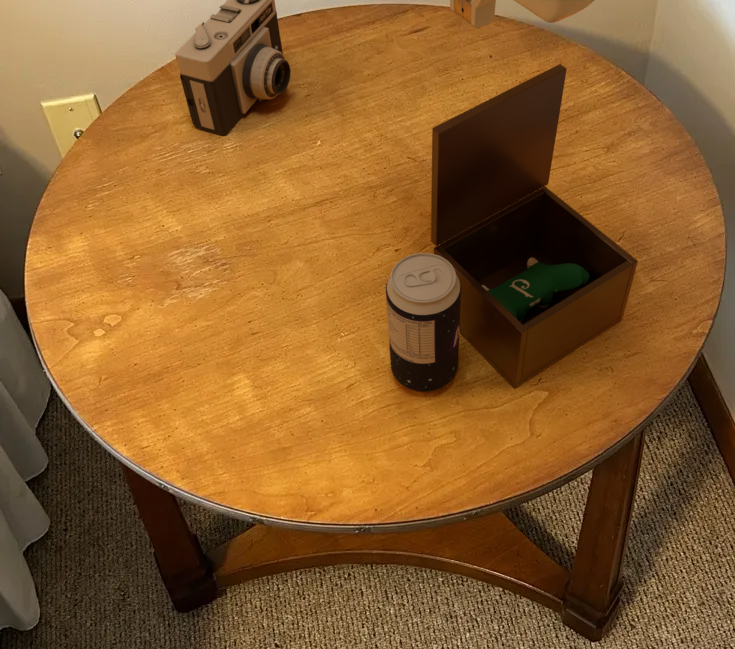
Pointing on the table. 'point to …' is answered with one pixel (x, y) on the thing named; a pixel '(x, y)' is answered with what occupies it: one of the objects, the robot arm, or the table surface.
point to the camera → (232, 64)
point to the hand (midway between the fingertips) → (471, 17)
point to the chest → (509, 258)
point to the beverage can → (423, 321)
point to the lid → (494, 154)
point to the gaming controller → (537, 286)
